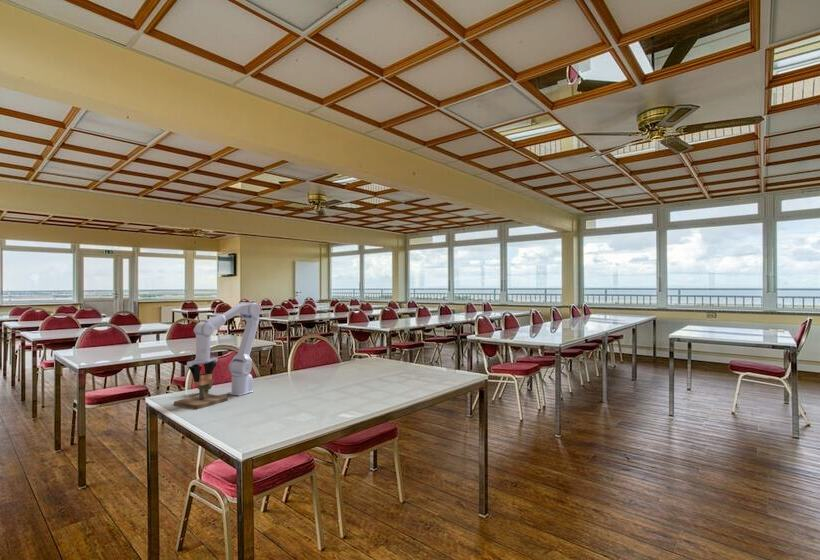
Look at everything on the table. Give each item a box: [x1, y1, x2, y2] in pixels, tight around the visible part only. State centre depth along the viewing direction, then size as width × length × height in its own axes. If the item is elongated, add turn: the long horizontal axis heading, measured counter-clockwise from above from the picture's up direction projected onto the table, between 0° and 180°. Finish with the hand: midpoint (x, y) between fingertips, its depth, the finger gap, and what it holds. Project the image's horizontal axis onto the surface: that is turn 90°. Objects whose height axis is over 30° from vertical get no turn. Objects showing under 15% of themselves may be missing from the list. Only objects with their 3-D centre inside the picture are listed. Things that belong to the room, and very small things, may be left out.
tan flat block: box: [173, 389, 229, 410], centre depth 187 cm, size 16×14×6 cm
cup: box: [196, 376, 214, 394], centre depth 203 cm, size 8×7×8 cm
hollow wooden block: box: [192, 372, 213, 386], centre depth 187 cm, size 5×5×4 cm
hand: (202, 380), depth 187 cm, fingers closed on hollow wooden block, 5 cm apart
